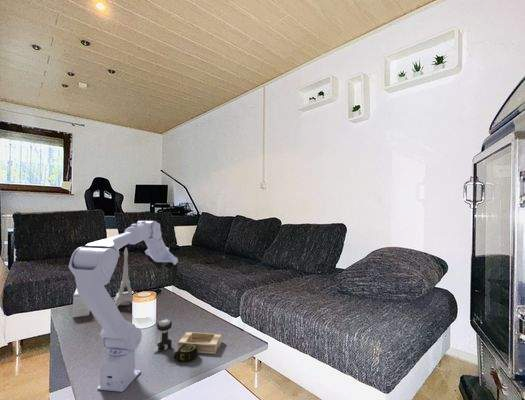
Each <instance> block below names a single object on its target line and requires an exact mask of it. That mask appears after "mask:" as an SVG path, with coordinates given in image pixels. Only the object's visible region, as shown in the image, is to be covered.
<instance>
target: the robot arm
mask: <svg viewBox="0 0 525 400" xmlns="http://www.w3.org/2000/svg"><path fill="white" fill-rule="evenodd" d="M142 241H144V243H145V245H146V247H147V249H146V250H144V253H145V255H146V256H148V257H146V261H147V262H150V263H151V264H153V265H154V266H155V267H156V268H157V269H158V270H160V269H161V268H162V267H163V265H164V264H163V263H166V264H165V265H164V267H165V268H166V269H168V270H169V271H170V273H171V274H172V275H173V276H174V275H176V273H177V272H178V263H179V260H180V258H179V256H177V255H176V256H175V255H173V253H172V252H170V247H167V246H166V244H165V242H164V240H163V237H162V230H161V224H160V223H159V222H157V221H156V220H138V221H137V222H136V223H132V224H130V226H128V227H127V228H125V229H124V232H123V233H119V234H115V235H113V236H109V237H106V238H103V239H100V240H99V239H98V240H95V241H92V242H88V243H87V244H85V245H84V246H80V247H77V248H76V249H75V250H74V251H73V252H72V254H71V257H70V259H69V263H68V269H69V271H70V272H71V273H72V275H73V276H74V280H75V284H76V288H77V291H78V294H79V295H80V297H81V298H82V300H83V301H84V302H85V304H86V305H87V307H88V308H89V310H90V313H91V314H92V316H93V317H94V319H96V321H97V322H98V323H99V325H100V326H101V328H102V329H101V331H100V333H99V337H100V339H101V345H102V347H103V348H105V349H106V350H105V352H106V353H108V354H107V357H106V359H105V360H104V361H103V362H102V364H101V365H100V369H99V371H100V372H99V373H100V374H99V376H100V377H99V385H98V386H97V390H100V391H101V390H102V391H111V392H124V391H125V390H126V389H127V388H128V386H130V384H131V383H132V382H134V380H135V379H136V378H137V377H138V376H139V375H140V373H141V370H140V369H139V370H138V369H135V368H136V365H135V364H136V361H135V360H136V349H137V348H138V347H139V346H140V344H141V341H142V336H143V333H142V330H141V328H140V327H137V326H136V325H135V324H134V323H132V322H130V321H128V320H126V319H125V318H124V316H123V315H122V313H121V311H120V310H119V308H118V307H116V305H115V303H114V302H113V300H114V299H112V296H111V295H110V293H109V292H108V291H107V288H106V287H105V286H106V285H108V284H109V282H110V280H111V278H112V276H113V273H114V272H115V269H116V266H117V265H118V260H119V258H120V250H119V249H121V248H122V247H124V246H125V247H126V245H128V244H129V245H136V244H138V243H141V242H142Z"/></svg>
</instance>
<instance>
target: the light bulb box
mask: <svg viewBox="0 0 525 400" xmlns="http://www.w3.org/2000/svg"><path fill="white" fill-rule="evenodd" d="M72 295H73V296H72V297H73V298H72V299H73V301H72V318H78V317H86V316H89V315H90V313H91V311H90V310H89V308H88V307H87V305H86V304H85V302H84V301H83V300H82V298H81V297H80V295H79V294H78V291H77V287H76V288H75V291H74V292H73V294H72Z"/></svg>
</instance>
